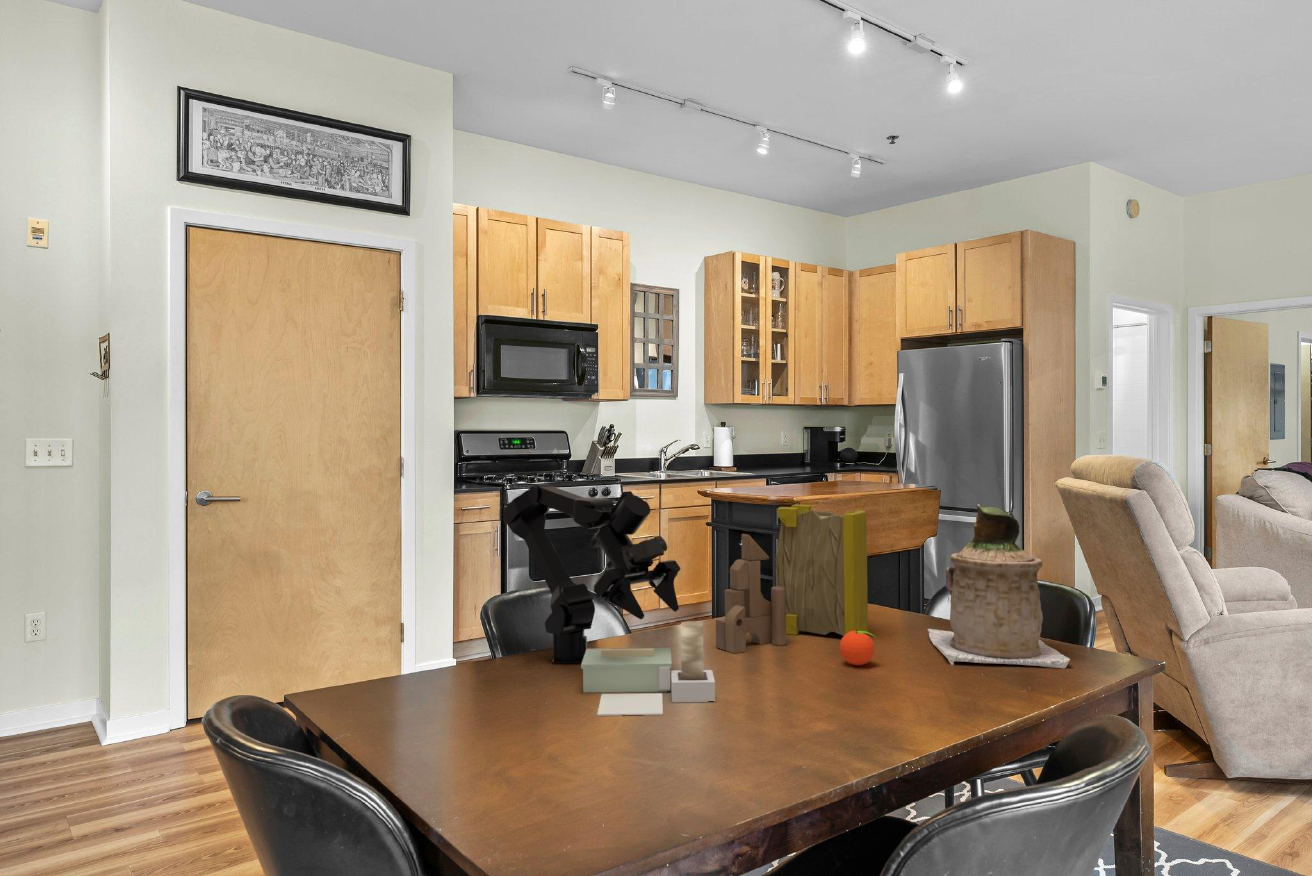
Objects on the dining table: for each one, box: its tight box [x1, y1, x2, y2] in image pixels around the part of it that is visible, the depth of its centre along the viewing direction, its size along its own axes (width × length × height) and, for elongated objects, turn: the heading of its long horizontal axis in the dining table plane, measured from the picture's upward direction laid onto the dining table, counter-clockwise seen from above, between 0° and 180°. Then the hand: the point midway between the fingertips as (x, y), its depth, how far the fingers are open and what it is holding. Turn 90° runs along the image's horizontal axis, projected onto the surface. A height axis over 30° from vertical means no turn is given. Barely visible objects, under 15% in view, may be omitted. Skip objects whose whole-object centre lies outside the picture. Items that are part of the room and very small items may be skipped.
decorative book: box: [775, 504, 869, 637], centre depth 195 cm, size 20×11×30 cm, turn 58°
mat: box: [596, 692, 664, 717], centre depth 143 cm, size 11×11×1 cm
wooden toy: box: [715, 533, 787, 654], centre depth 183 cm, size 15×7×25 cm, turn 121°
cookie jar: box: [927, 503, 1071, 669], centre depth 176 cm, size 25×25×32 cm
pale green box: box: [580, 647, 716, 703], centre depth 153 cm, size 24×18×6 cm
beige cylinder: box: [680, 620, 704, 680], centre depth 148 cm, size 4×4×13 cm
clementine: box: [839, 630, 875, 667], centre depth 167 cm, size 8×7×7 cm
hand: (660, 614), depth 154 cm, fingers open, 9 cm apart
